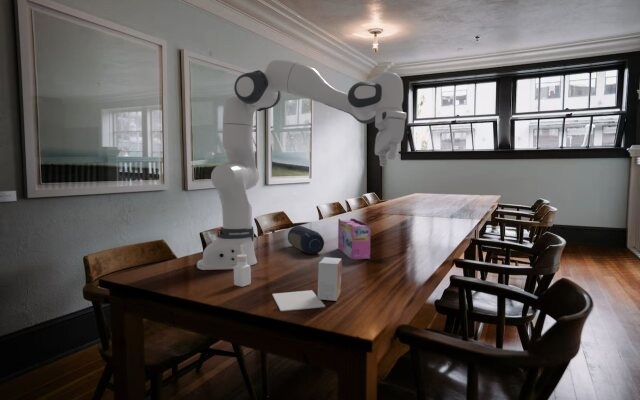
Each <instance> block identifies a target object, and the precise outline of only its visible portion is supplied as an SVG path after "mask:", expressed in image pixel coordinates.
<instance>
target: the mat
mask: <svg viewBox="0 0 640 400" xmlns="http://www.w3.org/2000/svg"><path fill="white" fill-rule="evenodd" d="M271 295H272V297H273V299H274V301H275V303H276V305H277V307H278V309H279V311H280V312H281V313H282V312H290V311H291V312H292V311H299V310H308V309H317V308H319V309H320V308H326V305H325V304H324V302H323V301H322V300H321V299H318V295H316V293H315V292H314V291H313V289H311V290H299V291H298V290H297V291H291V292H290V291H288V292H279V293H278V292H277V293H272V294H271Z"/></svg>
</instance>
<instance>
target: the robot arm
mask: <svg viewBox="0 0 640 400" xmlns="http://www.w3.org/2000/svg"><path fill="white" fill-rule="evenodd" d="M233 89H234V90H233V91H234V93H235V94H233V95H230V96H229V97H228V98H227V99H226V100H225V104H224V109H223V116H222V148H223V150H224V151H225V153H226V157H227V161H225V162H223V163H220V164H218V165H217V166H215V167H213V169H212V171H211V174H210V175H211V176H210V181H211V184H212V185H213V187H214V188H215V189H216V191H217V193H218V196H219V200H220V204H221V210H222V227H217V228H215V231H216V234H217V238H216V239H215V240H213V241H211V243H209V244H208V245H207V246H206V247H205V248H204V251H203V253H202V259H200V260H198V261H197V262H196V267H197V269H199V270H202V271H206V270H209V271H210V270H234V266H236V265H237V255H242V254H244V255H247V265H249V266H250V267H251V266H253V265H256V264H257V263H258V261H257V260H258V259H257V257H256V252H255V247H254V239H255V235H254V234H255V233H254V232H255V229H254V226H253V207H252V205H251V203H250V201H249V199H248V194H247V190H249V189H251V188H253V187H255V186H256V185H257V183H259V180H260V172H259V170H258V168H257V165H256V161H255V157H254V147H253V132H254V131H253V128H254V127H253V125H254V120H253V119H254V113H255V112H256V111H257V112H262V111H264V110H268V109H271V108H272V109H273V108H274V107H276V106H277V105H278V104H279V102H280V100H281V97H282V96H281V95H282V94H281V93H282V92H285V93H287V94H290V95H293V96H297V97H301V98H304V99H307V100H310V101H314V102H316V103H321V104H323V105H325V106H328V107H330V108H334V109H336V110H338V111H341V112H344V113H347V114H349V115H350V116H352V117H353V118H354V119H355V120H356V121H357V122H358V123H361V124H364V125H368V124H371V123H373V122H374V127H375V128H377V129H378V132H377V133H376V136H375V142H374V154H375V155H374V156H378V158H379V166H380V167H385V166H387V160H386V156H387V155H388V156H387V157H388V159H389V160H394V159H396V152H397V150H398V149H397V148H398V144H400V143H401V142H402V141H403V139H404V135H405V127H406V126H405V123H406V119H407V116H408V115H407V112H404V111H403V102H404V82H403V80H402V78H401V77H400V76H399V75H398V74H397V73H394V72H391V71H384V72H380V74H378V75H377V76H376V77H374V78H371V79H370V80H366V81H359V82H357V83H354V84H353V85H351V86H350V88H349V90H348V92H347V93H346V92H343V91H341V90H339V89H336V88H334V87H333V86H331V85H330V84H329V83H328V82H327V81H326V80H325V79H324V78H323V77H322V75H321V74H320V73H319V71H317V70H316V69H315V68H313V67H312V66H309V64H304V63H301V62H298V61H294V60H288V59H282V58H281V59H279V58H278V59H273V60H271V61H270V62H269V63H268V64H267V66H266V68H265V71H264V72H263V71H261V70H260V69H258V70H254V71H250V72H246V73H242V74H240V75H239V76H238V77H237V78H236V80H235V82H234V87H233Z"/></svg>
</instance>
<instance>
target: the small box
mask: <svg viewBox="0 0 640 400" xmlns="http://www.w3.org/2000/svg"><path fill="white" fill-rule="evenodd" d="M342 262H343V259H342V258H339V257H327V256H324V257H323V258H322V259H321V260H320V261H319V262H318V269H317V270H318V271H317V297H318V299H320V300H321V301H325V300H326V301H334V302H335V301H336V302H337V301H338V299H339V297H340V295H341V293H342V292H341V291H342V289H341V286H342V285H341V284H342Z"/></svg>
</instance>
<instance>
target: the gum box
mask: <svg viewBox="0 0 640 400" xmlns="http://www.w3.org/2000/svg"><path fill="white" fill-rule="evenodd" d="M337 222H338V223H337V224H338V226H337V227H338V228H337V229H338V230H337V232H338V233H337V235H338V236H337V248H338V250H339V251H341V252H343V254H345V256H347V257H348V258H350V259H351V260H365V259H366V260H367V259H369V260H370V259H371V225H369V224H367V223H365V222H362V221H360V220H359V219H358V220H357V219H356V218H350V219H349V220H348V219H340V218H338V221H337Z"/></svg>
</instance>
